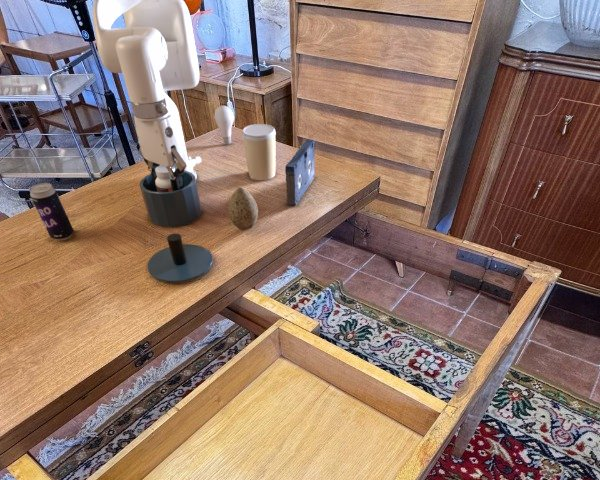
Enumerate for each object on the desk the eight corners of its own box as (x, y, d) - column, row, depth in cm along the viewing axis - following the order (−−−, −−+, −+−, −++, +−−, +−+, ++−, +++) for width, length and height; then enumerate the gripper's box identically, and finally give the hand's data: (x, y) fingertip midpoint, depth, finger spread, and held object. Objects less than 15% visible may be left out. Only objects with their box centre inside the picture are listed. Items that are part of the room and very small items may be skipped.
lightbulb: (240, 145, 144) (235, 107, 136) (222, 149, 143) (217, 110, 134) (232, 139, 148) (227, 101, 139) (215, 143, 146) (209, 105, 138)
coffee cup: (280, 168, 133) (278, 123, 123) (275, 182, 127) (272, 136, 118) (250, 167, 134) (245, 122, 124) (243, 181, 128) (238, 135, 119)
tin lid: (182, 242, 107) (175, 213, 102) (226, 261, 101) (221, 232, 96) (135, 270, 100) (125, 241, 94) (180, 293, 94) (172, 263, 88)
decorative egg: (237, 238, 108) (231, 197, 100) (226, 225, 112) (220, 185, 104) (263, 230, 110) (260, 190, 102) (252, 218, 114) (248, 178, 106)
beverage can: (51, 232, 111) (27, 184, 102) (74, 228, 112) (53, 180, 103) (51, 244, 108) (27, 195, 98) (75, 239, 109) (53, 190, 100)
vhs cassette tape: (306, 176, 129) (306, 138, 121) (316, 177, 128) (316, 139, 121) (285, 205, 118) (283, 166, 110) (295, 206, 117) (294, 167, 110)
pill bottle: (177, 220, 113) (166, 176, 104) (158, 214, 115) (146, 170, 106) (191, 209, 116) (182, 165, 108) (173, 204, 118) (162, 161, 110)
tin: (176, 196, 122) (169, 164, 116) (212, 210, 117) (206, 177, 110) (138, 217, 115) (128, 184, 109) (174, 232, 110) (165, 199, 103)
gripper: (189, 110, 96) (204, 193, 110) (137, 96, 103) (158, 176, 117) (163, 121, 92) (182, 205, 106) (111, 105, 99) (135, 186, 113)
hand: (169, 189), depth 111 cm, fingers closed on pill bottle, 6 cm apart
